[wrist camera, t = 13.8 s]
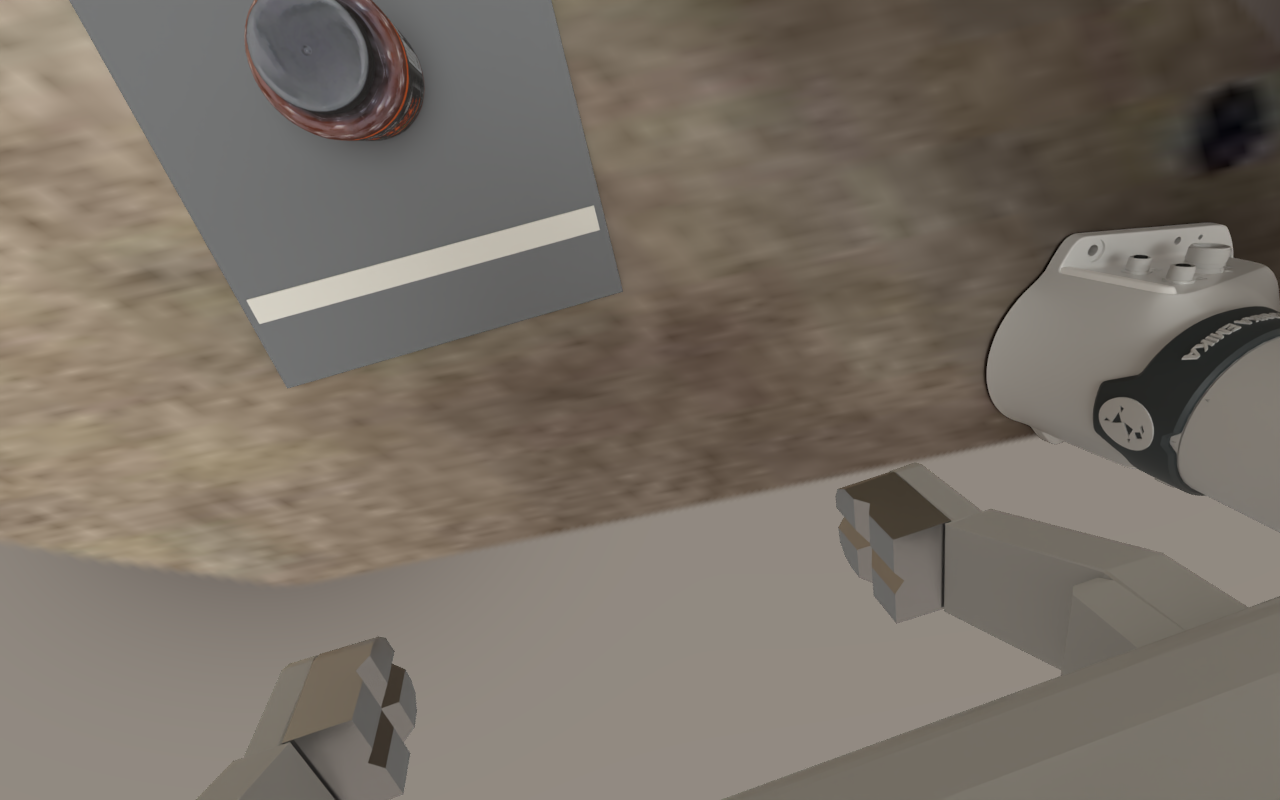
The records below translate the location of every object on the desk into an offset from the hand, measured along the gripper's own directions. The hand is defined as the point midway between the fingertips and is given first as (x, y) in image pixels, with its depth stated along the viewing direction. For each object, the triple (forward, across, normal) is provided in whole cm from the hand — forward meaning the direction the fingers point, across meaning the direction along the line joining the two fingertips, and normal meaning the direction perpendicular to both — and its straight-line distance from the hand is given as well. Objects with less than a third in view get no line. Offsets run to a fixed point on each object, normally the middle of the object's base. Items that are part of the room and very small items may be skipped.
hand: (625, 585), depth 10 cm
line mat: (+30, -6, +8) cm, 32 cm away
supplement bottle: (+30, -6, +12) cm, 32 cm away
